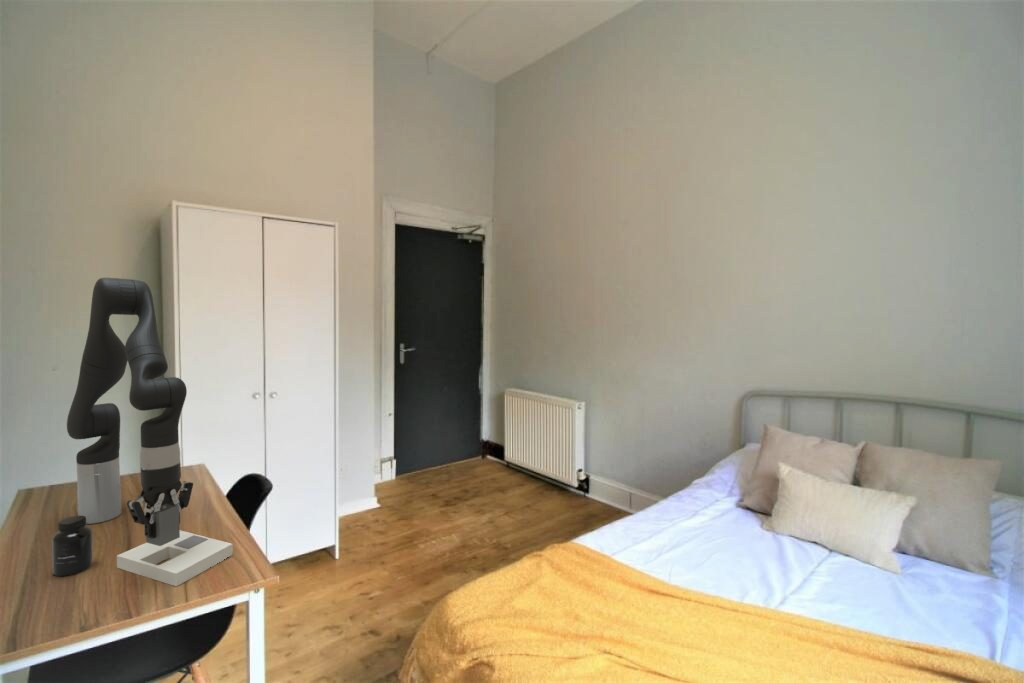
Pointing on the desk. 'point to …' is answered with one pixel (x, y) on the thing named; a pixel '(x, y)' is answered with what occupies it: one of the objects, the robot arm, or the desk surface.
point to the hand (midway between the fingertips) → (162, 532)
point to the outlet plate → (175, 558)
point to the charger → (166, 525)
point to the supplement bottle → (72, 546)
